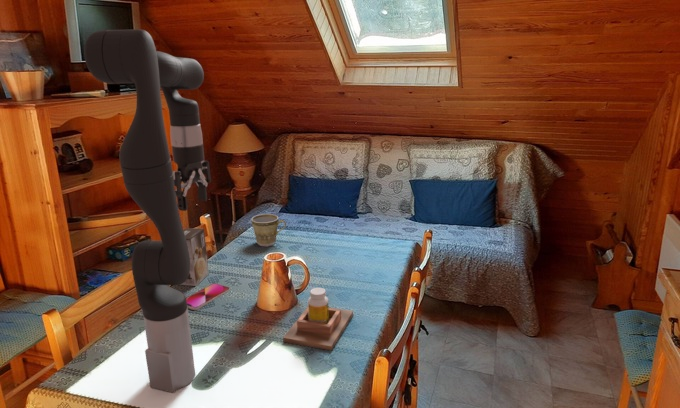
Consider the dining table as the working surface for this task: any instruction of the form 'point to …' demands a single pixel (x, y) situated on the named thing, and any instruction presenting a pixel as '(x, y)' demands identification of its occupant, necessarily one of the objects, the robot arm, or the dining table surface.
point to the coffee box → (196, 256)
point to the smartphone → (205, 296)
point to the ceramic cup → (266, 228)
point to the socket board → (319, 329)
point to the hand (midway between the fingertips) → (193, 205)
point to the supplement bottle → (318, 306)
